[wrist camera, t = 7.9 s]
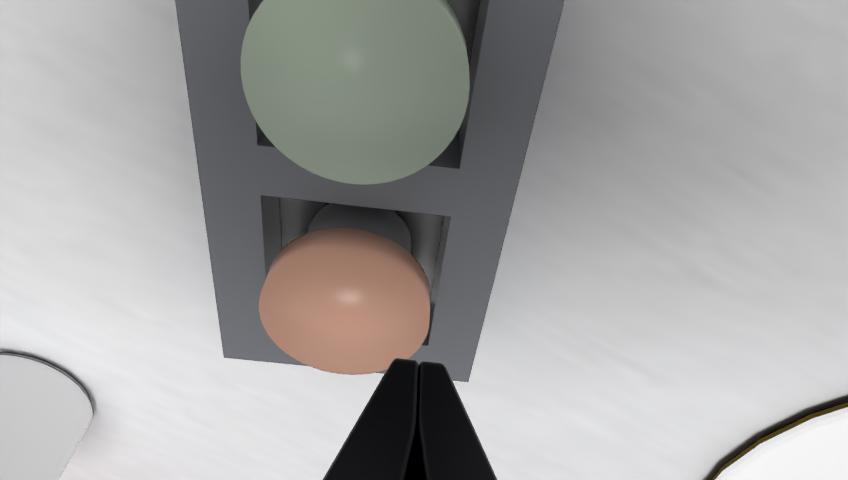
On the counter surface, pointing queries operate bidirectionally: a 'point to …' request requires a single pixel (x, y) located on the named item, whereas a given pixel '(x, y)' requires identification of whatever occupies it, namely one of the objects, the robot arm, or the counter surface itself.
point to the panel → (419, 192)
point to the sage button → (357, 84)
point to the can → (39, 418)
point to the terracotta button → (347, 292)
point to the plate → (797, 451)
